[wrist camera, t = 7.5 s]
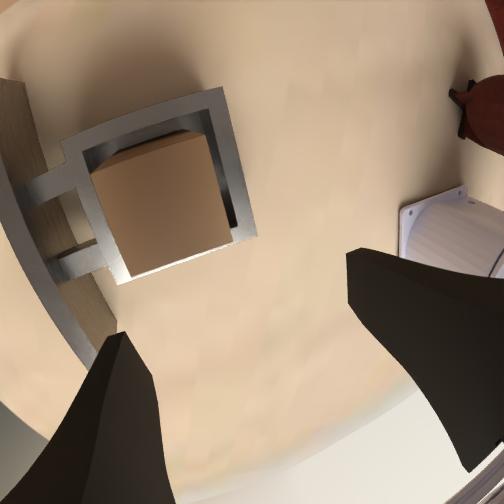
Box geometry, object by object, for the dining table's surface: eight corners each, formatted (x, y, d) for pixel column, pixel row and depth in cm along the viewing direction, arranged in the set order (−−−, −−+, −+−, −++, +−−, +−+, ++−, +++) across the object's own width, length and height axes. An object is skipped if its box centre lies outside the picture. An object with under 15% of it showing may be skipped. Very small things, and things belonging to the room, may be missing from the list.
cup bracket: (189, 22, 13) (205, -12, 8) (252, 274, 20) (281, 318, 16) (7, 93, 11) (-37, 89, 7) (102, 326, 18) (96, 381, 14)
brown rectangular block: (182, 128, 15) (205, 135, 9) (200, 192, 16) (233, 241, 10) (115, 151, 14) (89, 174, 8) (137, 214, 16) (131, 277, 10)
